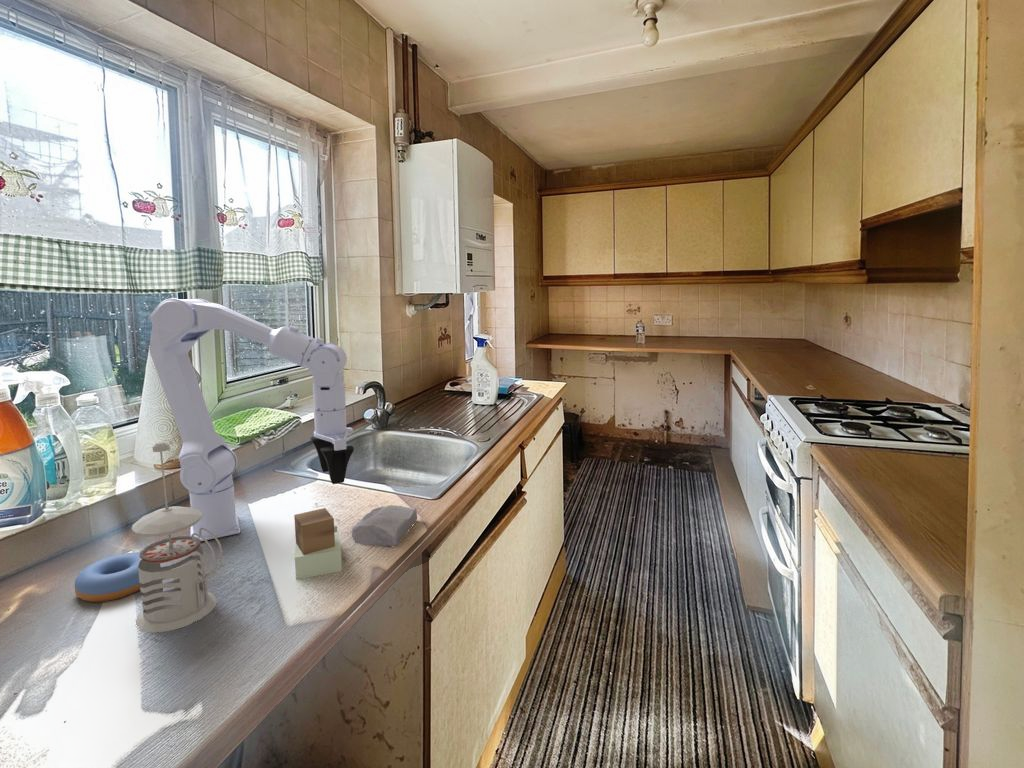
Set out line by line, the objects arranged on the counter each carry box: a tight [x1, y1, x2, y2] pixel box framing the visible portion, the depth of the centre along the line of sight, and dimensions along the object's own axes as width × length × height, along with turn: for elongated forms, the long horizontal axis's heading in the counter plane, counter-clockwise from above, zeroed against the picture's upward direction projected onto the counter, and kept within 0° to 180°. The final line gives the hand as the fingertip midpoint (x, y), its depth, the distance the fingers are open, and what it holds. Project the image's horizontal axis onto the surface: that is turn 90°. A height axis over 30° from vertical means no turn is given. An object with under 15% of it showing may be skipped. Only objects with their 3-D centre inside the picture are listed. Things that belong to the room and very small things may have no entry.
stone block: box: [351, 504, 418, 547], centre depth 97 cm, size 12×5×10 cm
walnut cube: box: [293, 507, 335, 555], centre depth 83 cm, size 5×5×5 cm
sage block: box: [294, 531, 343, 580], centre depth 84 cm, size 7×7×4 cm
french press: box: [131, 441, 223, 634], centre depth 70 cm, size 10×12×25 cm
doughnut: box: [74, 552, 142, 603], centre depth 77 cm, size 10×10×5 cm
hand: (332, 476), depth 97 cm, fingers open, 7 cm apart
